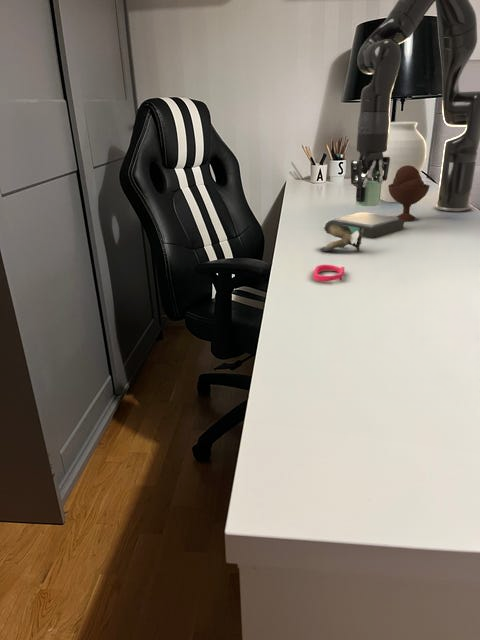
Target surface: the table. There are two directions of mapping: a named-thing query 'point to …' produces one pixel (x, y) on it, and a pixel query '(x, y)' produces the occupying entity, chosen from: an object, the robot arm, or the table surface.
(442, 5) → the robot arm
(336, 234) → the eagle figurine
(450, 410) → the table surface
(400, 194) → the ice cream bowl
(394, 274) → the table surface
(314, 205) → the table surface
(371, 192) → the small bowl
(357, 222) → the scale
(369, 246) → the table surface
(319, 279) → the fitness band
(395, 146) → the vase
